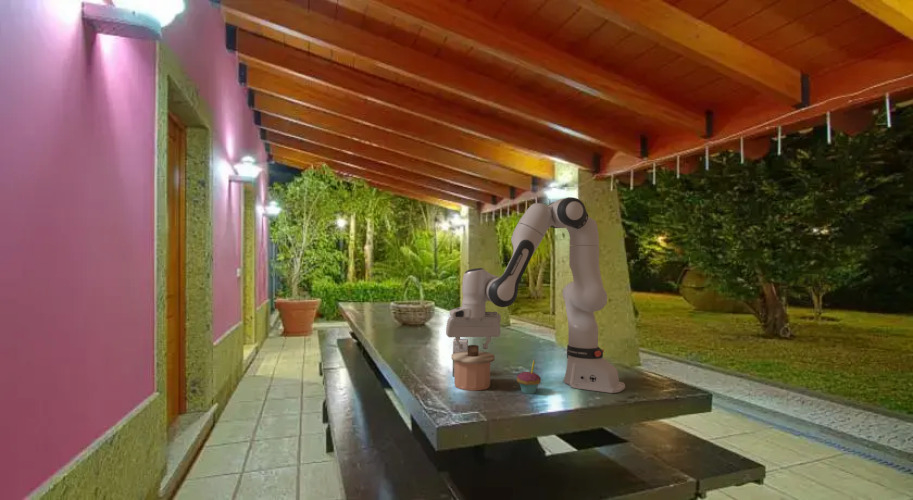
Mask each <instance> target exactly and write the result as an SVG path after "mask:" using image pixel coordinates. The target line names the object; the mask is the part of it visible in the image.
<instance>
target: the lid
mask: <svg viewBox="0 0 913 500" xmlns="http://www.w3.org/2000/svg"><path fill="white" fill-rule="evenodd" d="M495 358H496V357H495V354H493V353H491V352H487V351H480V350H479V345H477V344H468V351H461V352H455V353H453V352H452V354H451V360H452V361H453V360H454V361H457V362H461V363H470V364H481V363H489V362H490V363H492V362H494V361H495V360H496V359H495Z"/></svg>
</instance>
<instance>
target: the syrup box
mask: <svg viewBox="0 0 913 500" xmlns="http://www.w3.org/2000/svg"><path fill="white" fill-rule="evenodd" d="M459 342H460V344H463V349H458V343H457V341H456V339H455V337H453V340H452V354H453V353H455V352H461V351H468V345H469V339H468V338H460V340H459ZM451 373H452V377H454V378H455V361H454V360H452V372H451Z"/></svg>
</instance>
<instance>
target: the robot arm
mask: <svg viewBox="0 0 913 500" xmlns="http://www.w3.org/2000/svg"><path fill="white" fill-rule="evenodd" d="M597 224H598V223H597V222H596V220H595V219H593V218H592V217H589V214H588V212H587V209H586V206H585V204H584V203H583V201H582V200H580V199H579V198H577V197H572V196H571V197H564V198H561V199H558V200H556V201H554V202H551V203H550V204H548V205H546V204H544V203H542V202H541V203H540V202H535V203H532V204H530V206H529V207H528V208H527V209H526V210H525V212H524V214H523V215H521V217H520V219H519V221H518V222H517V225H516V226H515V228H514V230H513V232H512V235H511V238H510V239H511V240H510V241H511V245H512V248H513V249H512V250H513V251H512V255H511V258H510V260H509V262H508V264H507V266H506V268H505V270H504V272H503V273H502V274H501V276H500V277H499V276H496V275H494V274H492V273H491V272H489V271H487V270H485V268H483V267H476V268H471V269H467V270H466V271H464V274H463V276H462V277H463V278H462V284H461V286H462V287H461V291H462V293H461V294H462V301H461V306H459V307H456V308H452V309H450V311H449V317H448V319H447V321H446V326H445V327H446V328H445V334H446V336H447V337H448V338H455V339H456V341H457V343H458V349H463V344H460V342H459V340H460V339H461V338H485V339H486V341H485V343H482V349H483V350H488V349H489V344H490V342H491V341H492V338H498V337H500V335H501V319H502V317H501V313H499V312H497V311H486V309H487V308H486V306H487V305H486V304H487V302H492V304H493V305H495V306H497V307H500V308H506V307H507V308H508V307H510V306H511V305H513V304H514V303H515V301H516V300H517V297H518V294H519V286H520V282H521V280H522V277H523V275H524V273H525V271H526V269H527V267H528V265H529V263H530V261H531V259H532V257H533V256H534V254H535V252H536V250H537V249H538V247H539V245H540V244H541V243H542V241H543V239H544V237H545V235H546V233H547V231H548V230H549V228H554V229H566V230H567V232H568V235H569V255H568V256H569V259H568V260H569V269H570V271H571V275H572V279H573V281H570V282H569V283H567V284H566V285H565V286H564V287H563V289H562V298H563V300H564V304H565V312H566V316H567V323H568V324H567V325H568V335H567V336H568V342H567V343H568V344H567V346H566V359H567V362H566V364H567V365H566V369H565V373H564V374H565V375H564V377H563V382H564V383H565V384H566V385H569V387H570V388H572V389H579V390H585V391H586V390H587V391H594V392H602V393H609V394H613V393H614V394H615V393H620V392H622V391H624V390H625V389H626V384H625V382H623V381H620V378H619V372H618V370H617V369H616V367H614V366H613V365H612V364H611V363H610V362H608V361H607V360H606V359H605V358H604V353H605V349H604V348H600V347H599V324H598V322H597V321H596V317H595V316H596V315H595V312H598V311H600V310H603V308H605V307H606V305H607V302H608V293H607V292H606V290H605V288H604V285H603V280H602V274H601V269H600V237H599V229H598V225H597Z"/></svg>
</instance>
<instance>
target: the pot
mask: <svg viewBox="0 0 913 500" xmlns="http://www.w3.org/2000/svg"><path fill="white" fill-rule="evenodd" d="M490 386H491V362H489V363H481V364H470V363H461V362H457V361H455V377H454V387H456V388H457V389H459V390H461V391H470V392H473V391H474V392H475V391H485V390H488V389H489V388H490Z"/></svg>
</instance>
